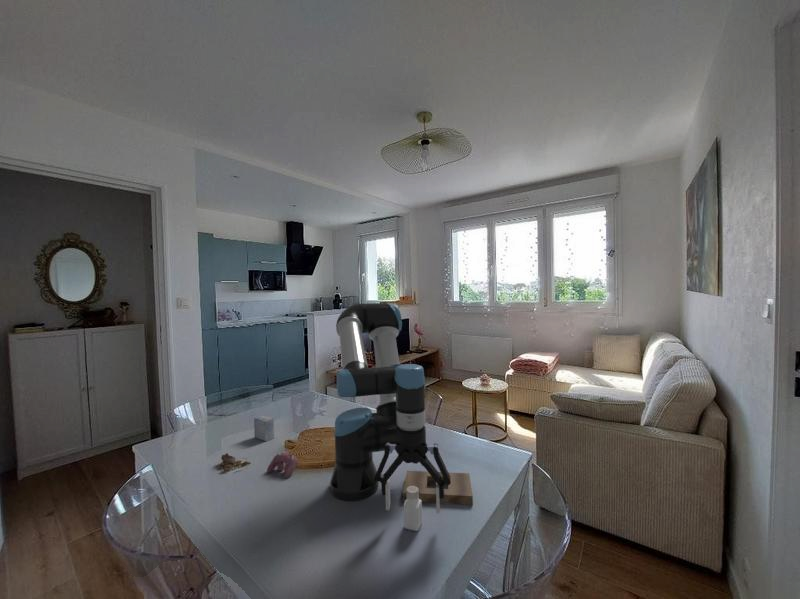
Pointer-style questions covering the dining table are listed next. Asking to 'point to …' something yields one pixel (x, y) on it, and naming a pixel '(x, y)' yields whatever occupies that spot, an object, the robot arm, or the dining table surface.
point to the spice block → (454, 494)
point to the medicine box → (264, 428)
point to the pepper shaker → (412, 509)
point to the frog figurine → (233, 464)
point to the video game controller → (280, 461)
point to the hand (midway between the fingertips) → (412, 508)
